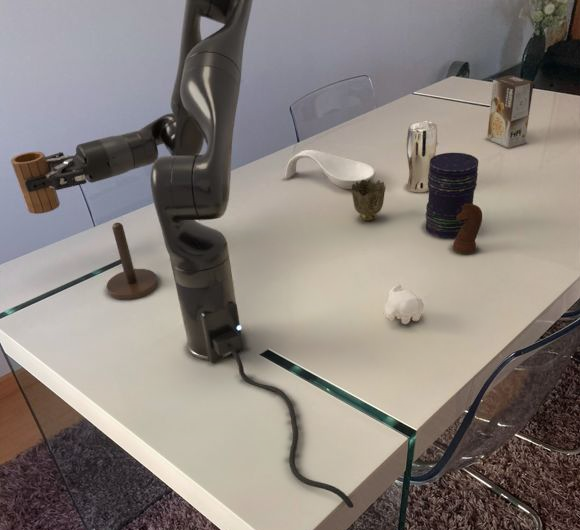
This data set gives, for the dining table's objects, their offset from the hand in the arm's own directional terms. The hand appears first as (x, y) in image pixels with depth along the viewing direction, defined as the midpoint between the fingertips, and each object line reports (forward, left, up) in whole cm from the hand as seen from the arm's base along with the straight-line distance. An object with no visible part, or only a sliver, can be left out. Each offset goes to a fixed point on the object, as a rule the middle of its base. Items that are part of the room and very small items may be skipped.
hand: (21, 181), depth 121 cm
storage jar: (-37, -76, -21) cm, 87 cm away
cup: (-22, -66, -21) cm, 73 cm away
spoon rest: (+1, -72, -21) cm, 75 cm away
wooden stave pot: (0, -2, -6) cm, 6 cm away
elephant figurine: (-57, -46, -21) cm, 76 cm away
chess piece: (-46, -72, -21) cm, 88 cm away
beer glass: (-17, -86, -21) cm, 90 cm away
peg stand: (-14, -12, -21) cm, 28 cm away
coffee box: (-10, -124, -21) cm, 126 cm away
